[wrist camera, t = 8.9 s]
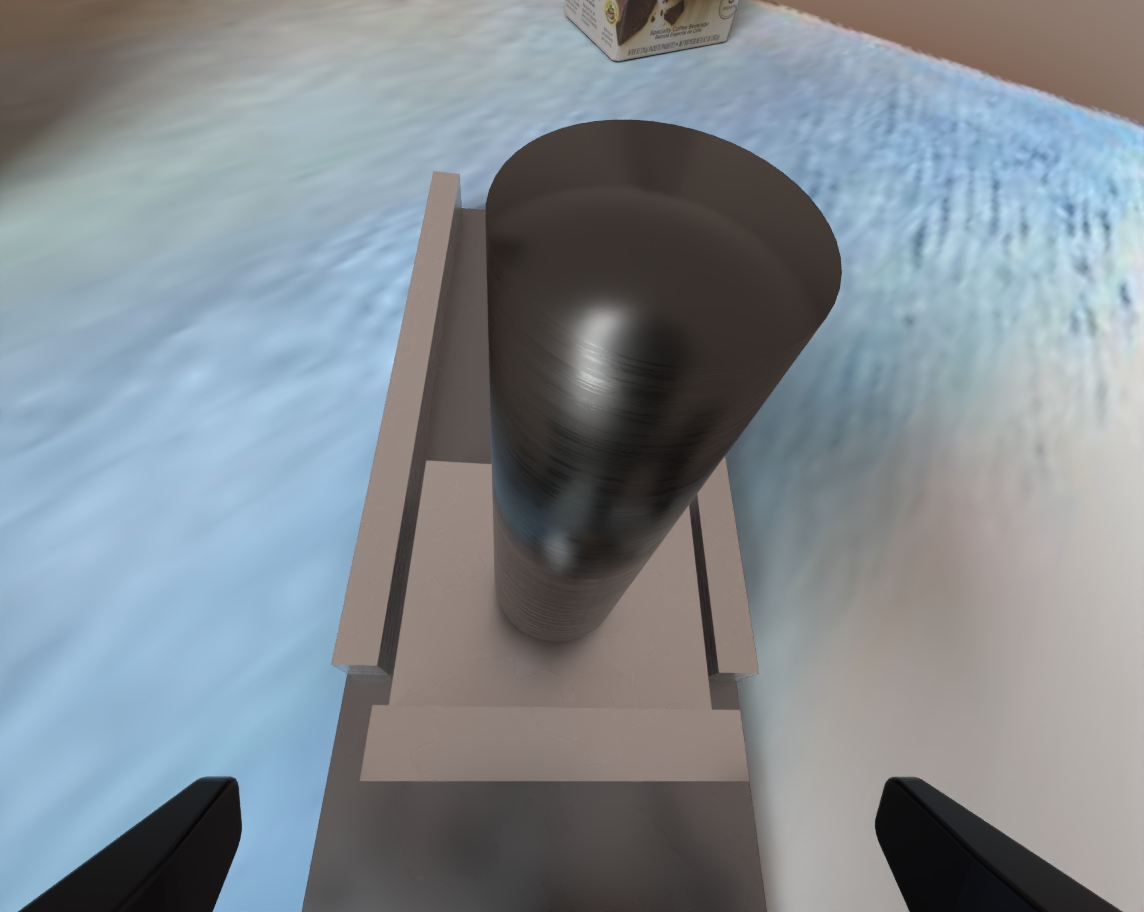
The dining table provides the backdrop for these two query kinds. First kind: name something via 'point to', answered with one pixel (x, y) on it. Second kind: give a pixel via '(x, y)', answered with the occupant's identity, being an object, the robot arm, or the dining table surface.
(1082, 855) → the dining table surface
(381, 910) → the base
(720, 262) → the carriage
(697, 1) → the coffee box
